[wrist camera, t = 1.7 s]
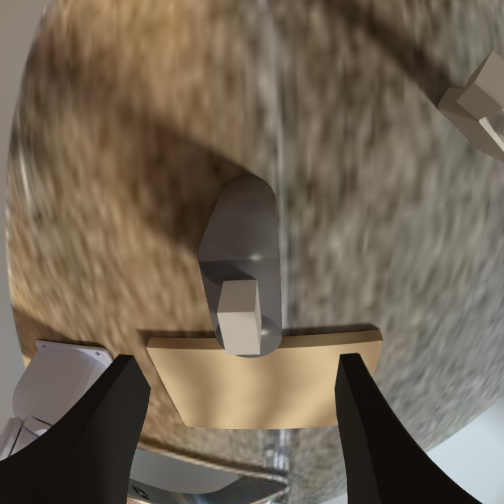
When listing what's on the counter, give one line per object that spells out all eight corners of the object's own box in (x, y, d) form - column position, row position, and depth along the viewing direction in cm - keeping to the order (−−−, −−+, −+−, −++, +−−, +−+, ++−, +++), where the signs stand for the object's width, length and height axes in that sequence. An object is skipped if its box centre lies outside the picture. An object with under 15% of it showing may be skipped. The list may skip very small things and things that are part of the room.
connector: (232, 288, 21) (216, 388, 14) (215, 177, 17) (178, 253, 10) (281, 286, 21) (283, 388, 14) (273, 173, 17) (275, 248, 10)
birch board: (188, 417, 31) (186, 426, 30) (150, 336, 24) (146, 347, 23) (356, 413, 29) (357, 422, 28) (379, 329, 22) (383, 340, 21)
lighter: (491, 129, 14) (581, 174, 7) (478, 150, 15) (565, 203, 8) (411, 51, 13) (503, 48, 6) (396, 74, 13) (484, 83, 7)
